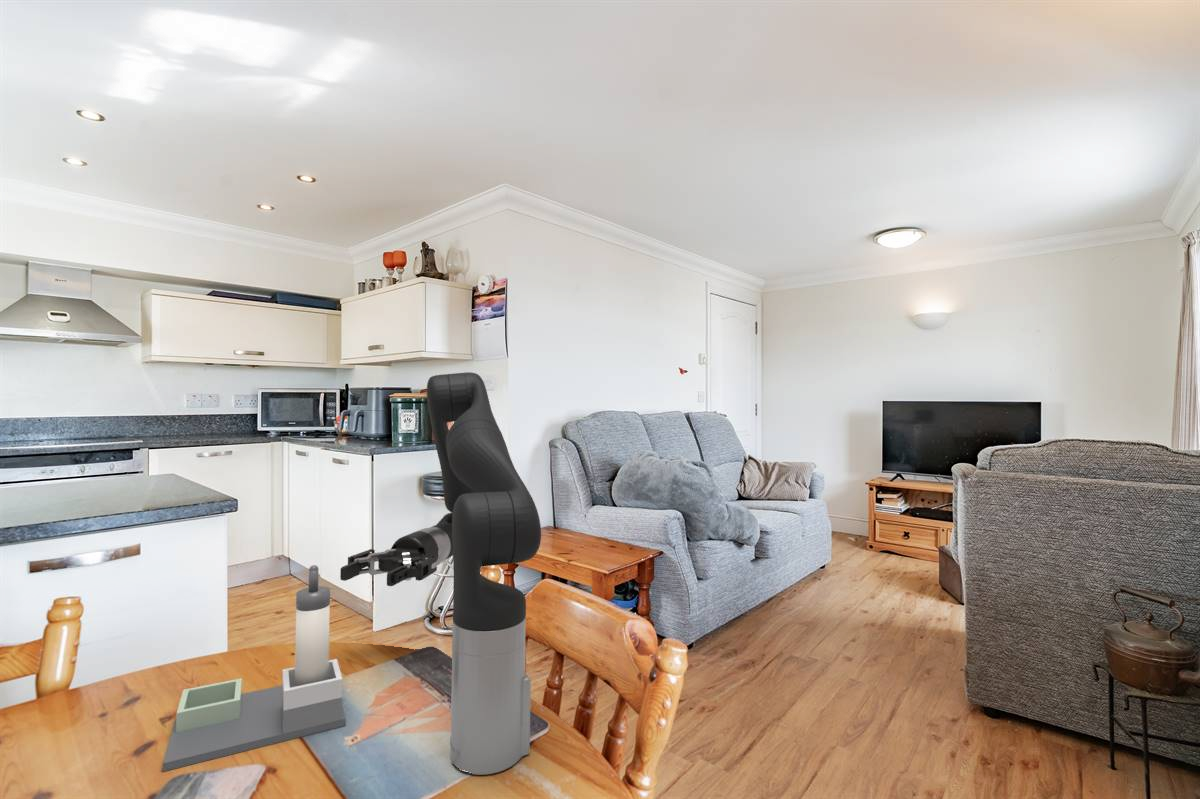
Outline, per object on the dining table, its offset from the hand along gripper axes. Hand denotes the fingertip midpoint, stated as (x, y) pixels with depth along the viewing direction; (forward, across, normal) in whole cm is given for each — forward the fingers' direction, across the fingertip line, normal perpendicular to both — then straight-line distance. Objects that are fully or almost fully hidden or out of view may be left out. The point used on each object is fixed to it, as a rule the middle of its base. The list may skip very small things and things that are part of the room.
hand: (365, 577), depth 90 cm
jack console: (+13, -7, +17) cm, 22 cm away
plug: (+12, 0, +12) cm, 17 cm away
